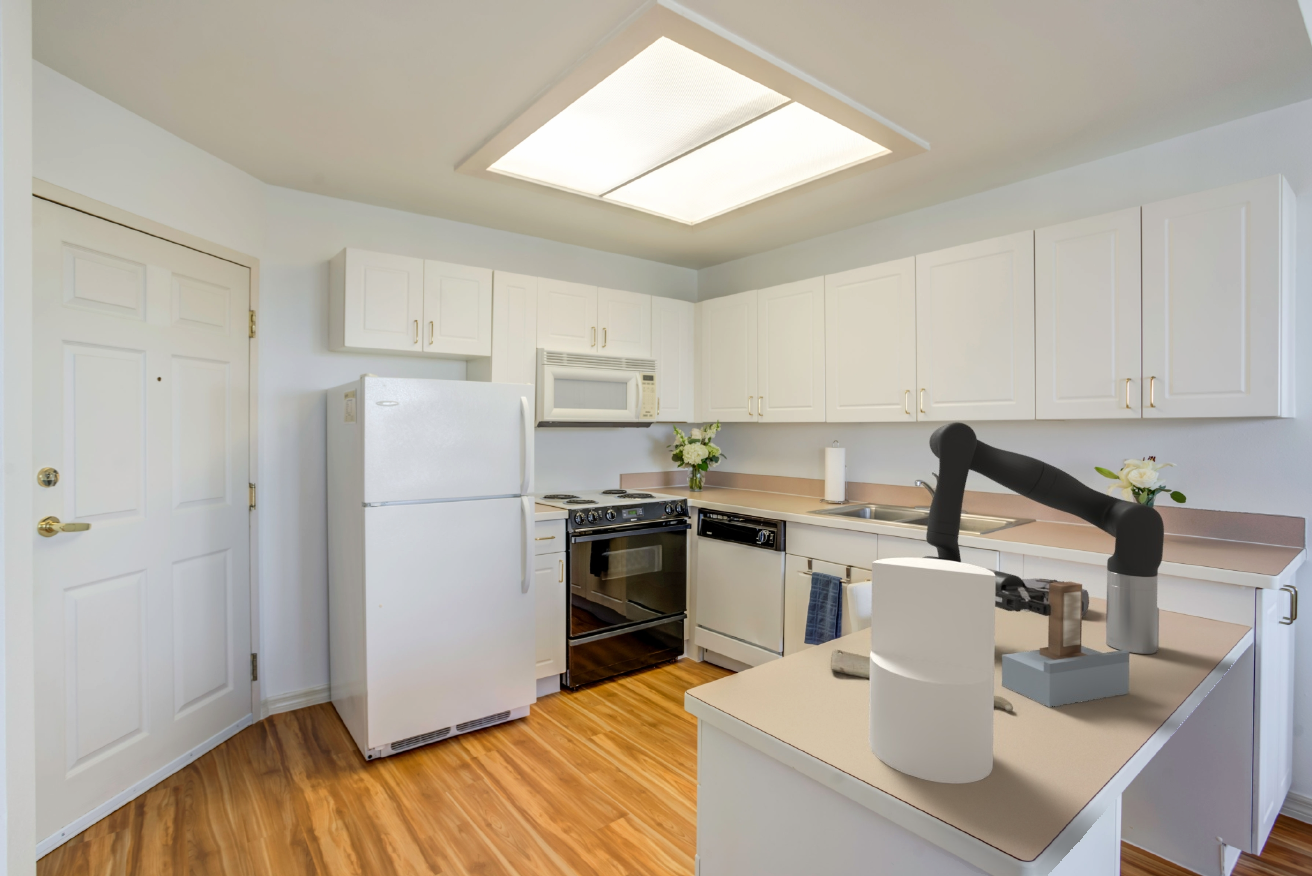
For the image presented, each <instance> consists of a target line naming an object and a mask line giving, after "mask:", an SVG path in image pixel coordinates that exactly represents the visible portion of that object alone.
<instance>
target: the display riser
mask: <svg viewBox="0 0 1312 876" xmlns="http://www.w3.org/2000/svg"><path fill="white" fill-rule="evenodd" d="M1081 653H1084V654H1087V655H1086V656H1079V657H1072V658H1065V659H1058V660H1053V659H1051V658H1048V657H1045V656H1043V655H1040V649H1036V650H1034V649H1033V650H1030V651H1029V650H1028V651H1021V652H1015V653H1007V654H1002V655H1001V656H1002V659H1001V664H1002V665H1001V667H1002V668H1001V686H1002V685H1003V686H1005V687H1004V688H1006V687H1007V688H1006V689H1008V688H1009V689H1008V690H1010V689H1011V691H1012V690H1014V691H1015V693H1017V692H1018V693H1017V694H1019V693H1020V694H1019V695H1021V694H1023V695H1025V696H1027V697H1030V698H1031V699H1030V698H1029V699H1030V700H1032V699H1034V700H1035V701H1034V700H1033V701H1034V702H1036V701H1037V702H1036V703H1038V702H1040V703H1042V704H1041V705H1043V704H1044V705H1043V706H1045V705H1046V706H1045V707H1047V706H1048V708H1049V707H1050V708H1055V707H1061V706H1064V705H1063V704H1067V705H1071V704H1070V703H1072V704H1076V703H1075V702H1078V703H1082V702H1081V701H1084V702H1088V700H1089V701H1093V699H1095V700H1099V699H1100V698H1101V699H1104V698H1103V697H1106V698H1110V697H1116V696H1115V695H1118V696H1122V695H1129V694H1130V693H1129V692H1130V691H1129V690H1130V687H1129V686H1130V652H1127V651H1124V650H1115V651H1107V652H1102V651H1099V650H1095V649H1092V648H1089V647H1088V646H1087V647H1086V646H1084V645H1081ZM1003 686H1002V687H1003ZM1014 691H1013V692H1014ZM1023 695H1022V696H1023ZM1025 696H1024V697H1025ZM1027 697H1026V698H1027ZM1040 703H1039V704H1040ZM1060 705H1061V706H1060ZM1052 706H1053V707H1052ZM1054 706H1055V707H1054Z"/></svg>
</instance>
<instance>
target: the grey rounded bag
mask: <svg viewBox="0 0 1312 876" xmlns="http://www.w3.org/2000/svg"><path fill="white" fill-rule="evenodd" d="M1021 579H1022V580H1023V582H1024V583H1025V585H1026V586H1031V587H1036V588H1037V589H1041V587H1046V588H1049V583H1059V582H1065V581H1064V580H1063V581H1060V580H1059V581H1058V580H1057V579H1048V578H1024V579H1023V578H1021ZM1082 601H1083V602H1084V611H1083V612H1082V615H1083V616H1084V615H1086V613H1087V611H1088V610H1089V607H1090V606H1089V605H1090V596H1089V591H1088V590H1087V589H1085V588H1082ZM1044 603H1048V601H1044Z"/></svg>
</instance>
